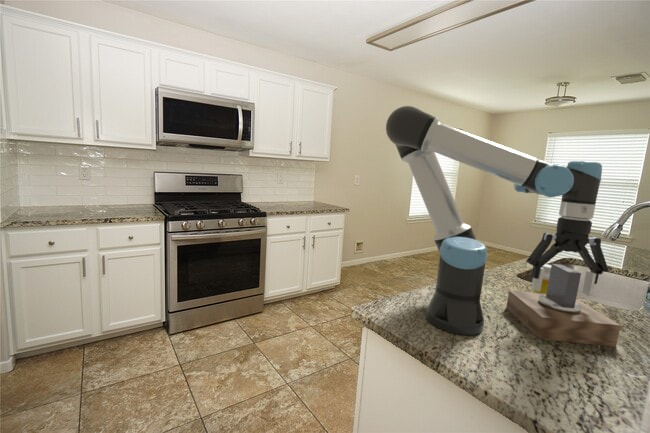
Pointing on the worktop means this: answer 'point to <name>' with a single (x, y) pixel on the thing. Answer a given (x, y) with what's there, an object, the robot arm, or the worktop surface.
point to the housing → (562, 321)
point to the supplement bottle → (543, 280)
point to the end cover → (562, 290)
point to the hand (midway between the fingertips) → (561, 291)
